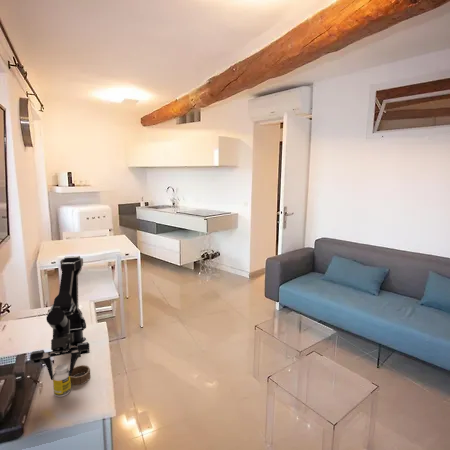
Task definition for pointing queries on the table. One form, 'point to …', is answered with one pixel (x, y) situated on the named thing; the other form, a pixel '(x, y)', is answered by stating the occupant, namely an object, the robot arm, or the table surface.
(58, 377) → the supplement bottle
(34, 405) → the table surface
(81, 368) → the holder
